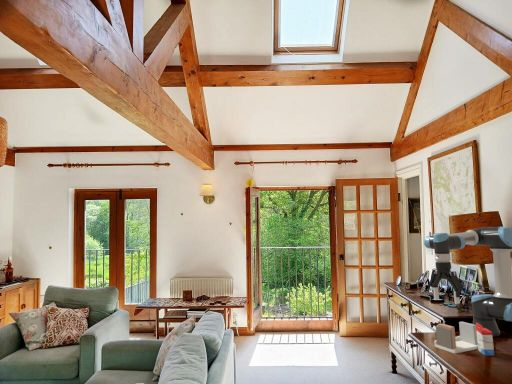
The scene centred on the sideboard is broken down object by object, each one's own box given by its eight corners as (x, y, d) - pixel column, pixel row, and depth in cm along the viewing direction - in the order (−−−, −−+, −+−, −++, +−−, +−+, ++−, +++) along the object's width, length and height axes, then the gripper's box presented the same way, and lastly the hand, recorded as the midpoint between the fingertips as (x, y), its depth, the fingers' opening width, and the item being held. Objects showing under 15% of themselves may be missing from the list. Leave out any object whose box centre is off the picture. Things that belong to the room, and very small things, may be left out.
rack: (463, 341, 213) (461, 318, 214) (484, 347, 201) (481, 323, 202) (434, 346, 205) (432, 323, 206) (454, 353, 193) (452, 328, 194)
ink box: (495, 355, 187) (491, 326, 189) (484, 355, 188) (481, 325, 190) (488, 350, 196) (485, 322, 197) (477, 350, 197) (475, 321, 198)
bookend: (463, 339, 210) (462, 321, 211) (478, 343, 202) (476, 325, 203) (460, 340, 209) (458, 322, 211) (474, 344, 201) (473, 325, 202)
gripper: (420, 260, 211) (423, 298, 209) (457, 263, 188) (461, 306, 186) (430, 259, 214) (433, 297, 212) (468, 262, 191) (472, 304, 188)
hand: (446, 301), depth 199 cm, fingers open, 13 cm apart
